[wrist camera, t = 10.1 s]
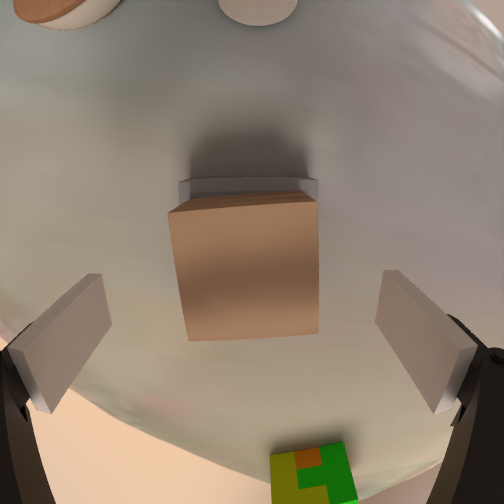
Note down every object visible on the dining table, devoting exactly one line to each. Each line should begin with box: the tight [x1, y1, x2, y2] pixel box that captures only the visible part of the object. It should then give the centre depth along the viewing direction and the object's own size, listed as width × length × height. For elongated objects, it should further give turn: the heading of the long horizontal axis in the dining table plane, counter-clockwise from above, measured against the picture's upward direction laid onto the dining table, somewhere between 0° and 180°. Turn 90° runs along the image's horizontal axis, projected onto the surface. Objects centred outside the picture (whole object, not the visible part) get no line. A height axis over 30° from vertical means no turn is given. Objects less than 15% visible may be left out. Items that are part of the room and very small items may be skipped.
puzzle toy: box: [270, 442, 358, 504], centre depth 32 cm, size 10×10×10 cm
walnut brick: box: [168, 190, 319, 341], centre depth 20 cm, size 8×8×6 cm
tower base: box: [179, 177, 318, 205], centre depth 25 cm, size 10×10×4 cm
